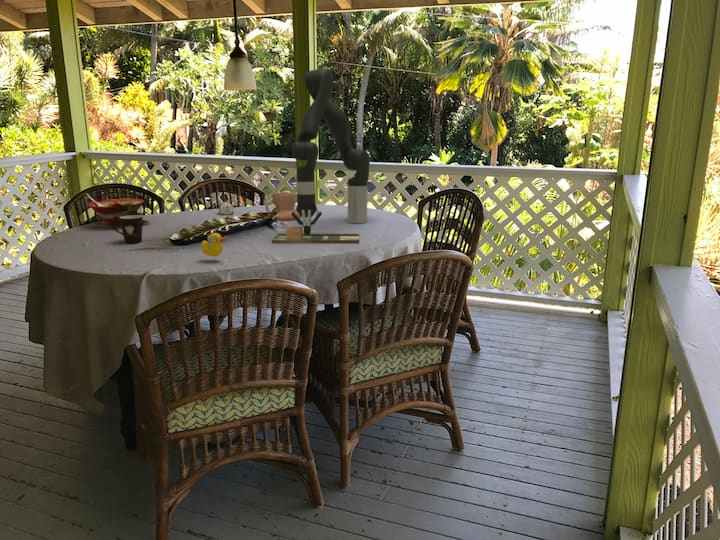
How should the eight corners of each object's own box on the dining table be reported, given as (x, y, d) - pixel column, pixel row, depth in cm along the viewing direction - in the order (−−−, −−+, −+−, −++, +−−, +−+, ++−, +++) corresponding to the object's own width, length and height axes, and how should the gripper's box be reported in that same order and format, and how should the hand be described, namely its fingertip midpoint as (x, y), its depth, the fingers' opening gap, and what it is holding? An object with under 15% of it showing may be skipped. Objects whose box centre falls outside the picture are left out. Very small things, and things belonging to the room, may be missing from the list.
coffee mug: (149, 240, 236) (147, 215, 233) (134, 244, 228) (132, 219, 225) (126, 238, 240) (123, 214, 237) (111, 242, 232) (108, 217, 229)
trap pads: (312, 236, 243) (312, 235, 243) (340, 237, 243) (340, 235, 243) (309, 242, 232) (309, 241, 232) (339, 242, 232) (339, 241, 232)
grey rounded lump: (231, 221, 281) (229, 200, 278) (214, 220, 283) (213, 200, 280) (238, 218, 289) (237, 198, 287) (222, 217, 291) (221, 198, 289)
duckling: (229, 255, 210) (228, 232, 208) (224, 257, 205) (223, 234, 203) (205, 254, 211) (203, 231, 209) (199, 256, 207) (197, 233, 205)
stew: (73, 230, 257) (69, 194, 253) (114, 222, 279) (110, 188, 275) (122, 234, 247) (118, 197, 243) (160, 225, 269) (157, 191, 265)
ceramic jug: (299, 219, 288) (298, 190, 284) (306, 224, 274) (305, 194, 271) (263, 221, 282) (262, 192, 279) (268, 226, 269) (267, 195, 265)
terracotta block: (288, 237, 240) (287, 226, 239) (302, 237, 240) (302, 226, 239) (286, 240, 234) (286, 229, 233) (301, 240, 234) (301, 229, 233)
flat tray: (276, 236, 244) (276, 233, 244) (359, 236, 244) (359, 233, 244) (272, 243, 231) (271, 240, 231) (359, 243, 231) (359, 240, 231)
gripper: (323, 191, 236) (323, 233, 241) (290, 191, 236) (292, 233, 241) (322, 193, 229) (322, 236, 233) (288, 193, 229) (290, 236, 233)
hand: (307, 234), depth 237 cm, fingers closed
